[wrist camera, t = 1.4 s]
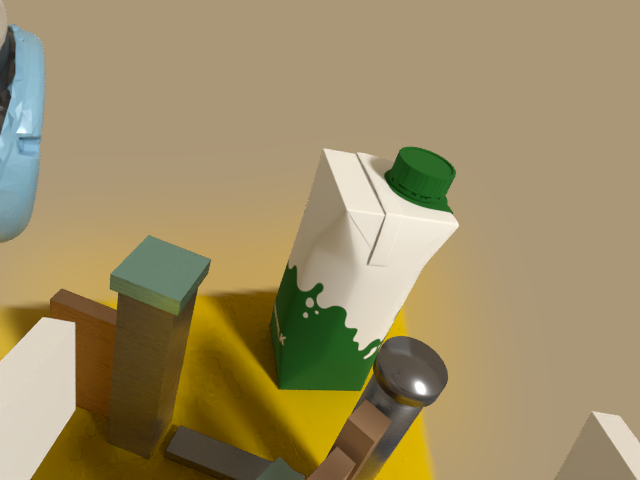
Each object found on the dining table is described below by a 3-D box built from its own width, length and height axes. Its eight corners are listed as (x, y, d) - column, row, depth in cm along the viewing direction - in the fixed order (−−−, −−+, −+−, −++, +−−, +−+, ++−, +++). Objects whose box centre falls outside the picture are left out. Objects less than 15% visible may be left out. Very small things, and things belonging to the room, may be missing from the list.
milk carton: (373, 400, 42) (487, 204, 30) (267, 399, 39) (349, 182, 27) (349, 321, 48) (435, 137, 37) (257, 315, 45) (319, 113, 34)
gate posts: (40, 420, 32) (29, 242, 24) (74, 378, 35) (76, 207, 27) (346, 543, 32) (447, 405, 23) (356, 491, 35) (448, 351, 26)
